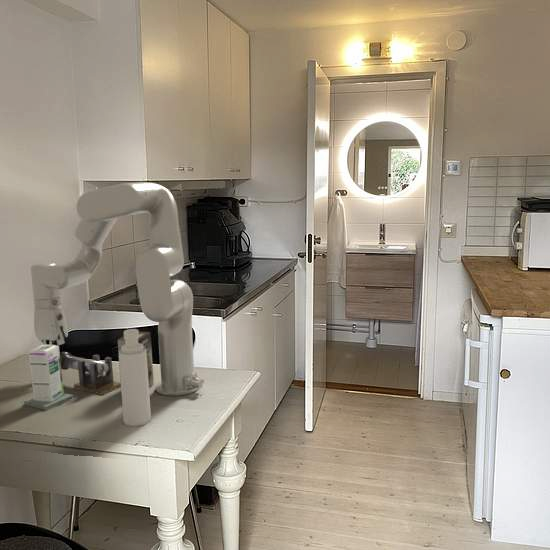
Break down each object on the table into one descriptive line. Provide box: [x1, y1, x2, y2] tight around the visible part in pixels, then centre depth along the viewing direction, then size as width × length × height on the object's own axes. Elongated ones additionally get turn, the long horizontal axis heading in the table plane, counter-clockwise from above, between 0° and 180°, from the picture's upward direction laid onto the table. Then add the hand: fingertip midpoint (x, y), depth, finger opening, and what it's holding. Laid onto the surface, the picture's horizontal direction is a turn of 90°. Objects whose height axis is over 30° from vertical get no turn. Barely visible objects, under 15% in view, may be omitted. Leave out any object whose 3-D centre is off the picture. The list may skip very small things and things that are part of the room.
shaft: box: [59, 351, 109, 375], centre depth 169 cm, size 18×5×5 cm, turn 60°
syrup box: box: [27, 344, 65, 402], centre depth 156 cm, size 6×6×14 cm
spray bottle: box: [117, 328, 152, 427], centre depth 141 cm, size 7×7×25 cm
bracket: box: [73, 354, 121, 395], centre depth 166 cm, size 12×7×8 cm, turn 60°
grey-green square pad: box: [23, 392, 74, 411], centre depth 157 cm, size 9×9×1 cm
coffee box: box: [117, 331, 155, 395], centre depth 163 cm, size 9×6×16 cm
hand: (53, 360), depth 175 cm, fingers closed
